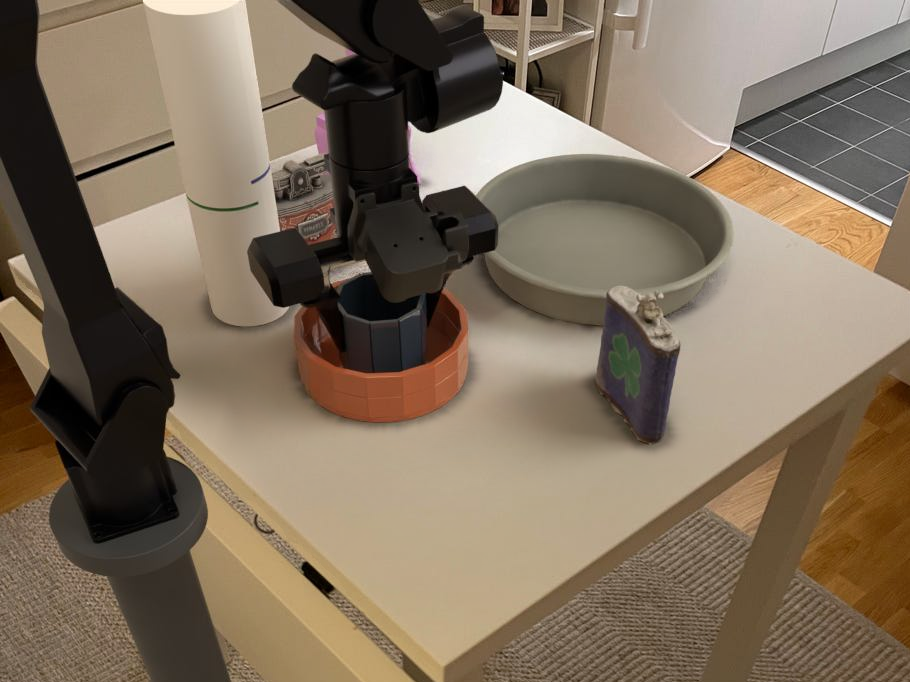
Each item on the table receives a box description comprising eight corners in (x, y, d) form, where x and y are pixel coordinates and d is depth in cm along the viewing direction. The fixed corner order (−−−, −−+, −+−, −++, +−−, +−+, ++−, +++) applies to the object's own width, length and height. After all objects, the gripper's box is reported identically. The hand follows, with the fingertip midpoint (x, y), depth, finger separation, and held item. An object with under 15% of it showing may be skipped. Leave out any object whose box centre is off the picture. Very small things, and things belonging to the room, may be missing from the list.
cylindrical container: (306, 296, 91) (264, -11, 72) (255, 335, 88) (197, 23, 68) (246, 272, 94) (189, -32, 74) (194, 309, 90) (120, -1, 70)
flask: (589, 380, 85) (604, 266, 76) (619, 372, 85) (637, 258, 77) (642, 448, 79) (665, 334, 71) (674, 439, 80) (700, 324, 72)
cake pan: (579, 372, 85) (584, 327, 82) (418, 243, 97) (417, 199, 94) (778, 279, 94) (791, 235, 91) (609, 172, 106) (614, 129, 103)
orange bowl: (339, 442, 79) (333, 397, 76) (276, 344, 87) (268, 299, 83) (496, 392, 83) (497, 346, 80) (423, 303, 91) (421, 258, 87)
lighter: (284, 290, 92) (268, 185, 84) (264, 274, 93) (246, 169, 86) (356, 260, 95) (346, 157, 87) (335, 245, 97) (324, 141, 89)
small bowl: (362, 396, 81) (356, 333, 77) (327, 346, 85) (320, 283, 81) (441, 372, 83) (440, 309, 79) (403, 324, 88) (400, 262, 83)
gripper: (285, 238, 63) (313, 428, 76) (539, 174, 69) (526, 361, 81) (228, 159, 69) (262, 348, 82) (466, 107, 75) (465, 291, 87)
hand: (382, 338), depth 83 cm, fingers closed on small bowl, 7 cm apart
